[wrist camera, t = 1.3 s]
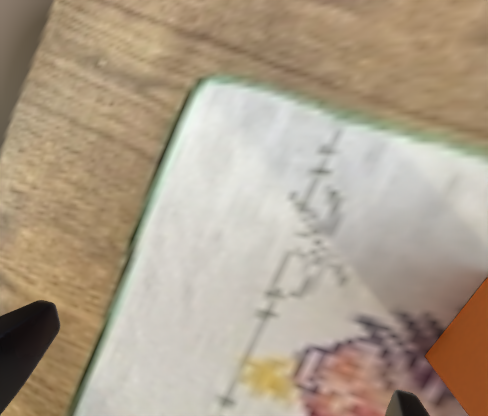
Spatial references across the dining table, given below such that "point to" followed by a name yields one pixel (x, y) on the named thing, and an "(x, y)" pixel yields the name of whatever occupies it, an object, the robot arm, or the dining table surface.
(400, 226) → the dining table surface
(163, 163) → the dining table surface
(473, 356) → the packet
